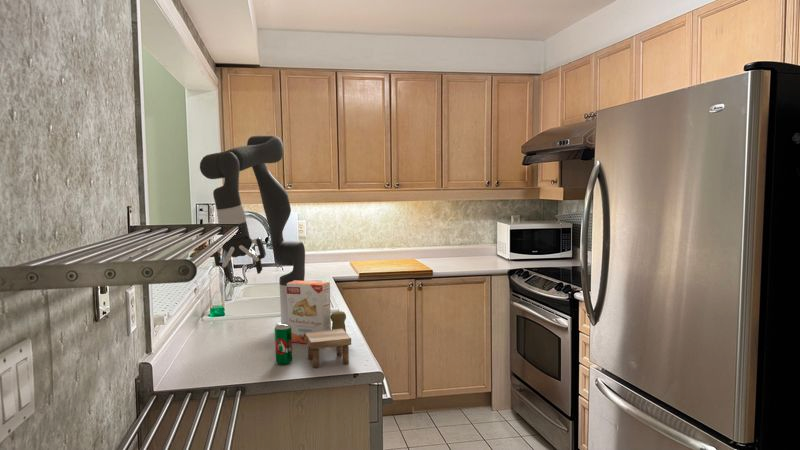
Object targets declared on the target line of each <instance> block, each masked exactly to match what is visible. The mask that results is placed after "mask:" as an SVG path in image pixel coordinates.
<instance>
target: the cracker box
mask: <svg viewBox="0 0 800 450" xmlns="http://www.w3.org/2000/svg"><path fill="white" fill-rule="evenodd" d="M287 311H288V323H290V326H291V329H292V343H297V344H298V343H301V344H307V345H308V343H307V341H306V339H305V332H313V331H323V330H332V323H331V322H332V321H331V314H332V312H331V283H330V281H329V282H327V281H313V280H312V281H311V280H304V281H298V280H295V281H292V282H288V283H287Z"/></svg>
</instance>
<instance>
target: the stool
mask: <svg viewBox="0 0 800 450" xmlns="http://www.w3.org/2000/svg"><path fill="white" fill-rule="evenodd" d="M305 339H306V341H307V343H308V344H307V343H306V344H307V354H308V355H307V357H308V358H307V359H308V360H312V368H313V369H318V368H320V352H319V351H320V350H319V349H326V348H327V349H328V348H333V347H336V356H337V357H341V356H342V364H343V365H349V364H350V359H349V358H350V357H349V346H352V337H351V336H350V335H349V334H348V333H347V331H346V332H345V331H344V330H343V329H333V330H332V329H331V330H323V331H313V332H305Z"/></svg>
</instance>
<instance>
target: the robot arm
mask: <svg viewBox="0 0 800 450" xmlns="http://www.w3.org/2000/svg"><path fill="white" fill-rule="evenodd" d="M284 147H285V146H284V143H283V141H282V139H281V138H280V137H278V136H276V135H253V136H250V137H249V138H248V139H247V143H246V145H243V146H237V147H233V148H230V149H228V150H226V151H222V152H215V153H210V154H206V155H205V156H203V157H202V159H201V160H200V162H199V171H200V172H201V175H202V176H204V177H205V178H206V179H210V180H219V179H224V182H223V185H221V186H219V187H216V188H215V189H214V190H213V191H212V192H213V193H212V195H213V201H214V204H215V208H216V212H217V213H216V214H217V215H216V216H217V217H216V218H217V223H218V225H219V224H239V225H241V226H242V231H241V233H239V234H236V235H234V236H233V237H232V238H231V239H230V240H229V241H228V242H226V243H225V244H224V245H223V244H222V245H223V246H222V247H221V248H220V249H219V250H218V251H217V252H216V253H215V254H214V253H213V258H214V259H213V260H214V264H215V266H216V267H222V269H223V272H224V277H225V278H227V279H228V280H231V279H232V270H231V266H230V265H229V263H230V261H231V259H232V258H238V257H244V256H246V255H247V256H248V257H249V258H252V259H253V260H254V265H255V268H256V273H257V275H258V274H261V273H262V271H263V265H262V259H264V258H265V257H266V255H267V252H266V249H265V246H264V242H263V239H262V237H260V236H257V237H256V238H253V239H252V238H251V236H250V234H249V233H250V232H249V228H248V224H247V223H248V222H247V218H246V214H245V211H244V209H243V208H244V207H243V204H242V201H241V195H240V190H239V187H240V186H239V185H240V183H239V182H240V172H243V171H245V170H247V169H250V168H251V169H252V171H253V173H254V176H255V179H256V182H257V185H258V190H259V194H260V197H261V201H262V202H261V203H262V206H263V207H262V208H263V211H264V214H265V217H266V218H265V219H266V221H267V222H266V223H267V225H268V229H269V236H270V241H271V245H272V247H271V248H272V253H273V258H274V261H275V263H276V264H277V265H278V266H283V267H287V266H288V267H291V266H293V267H292V271H290V272H289V273H285V274H283V275H281V276H280V277H279V302H280V303H279V304H280V307H279V308H280V323H288V311H287V283H288V282H292V281H295V280H298V281H305V277H306V276H305V275H306V264H305V263H306V248H305V245H304V243H303V242H302V241H300V240H297V241H295V240H284V234H283V233H284V232H283V231H284V230H285V226H286V224H287V223H288V221H289V218H290V216H291V212H292V208H291V203H290V199H289V195H288V192H287V191H286V189H285V188H284V187H283V185H282V184H281V183H280V182H279V181H278V180H277V179H276V178H275V177H274V175H272V174H271V171H270V169H269V168H268V165H267V164H274V163H275V164H276V163H278V162H280V161H281V160H282V159H283V157H284V152H285V149H284ZM252 245H255V247H257V248H258V252H259V254H258V253H257V252H256V251H255V250H254V249H252ZM222 250H223V251H225V252H226V253H227V254H226V256H225V258H224V260H222V258H221V252H222Z"/></svg>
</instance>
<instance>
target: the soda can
mask: <svg viewBox="0 0 800 450" xmlns="http://www.w3.org/2000/svg"><path fill="white" fill-rule="evenodd" d="M273 329H274V353H275V356H274V357H275V364H277V365H278V366H285V365H289V364H292V362H293V360H294V359H293V342H292V329H291V326H290V323H281V322H278V323H276V324H275V326H274V328H273Z"/></svg>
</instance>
